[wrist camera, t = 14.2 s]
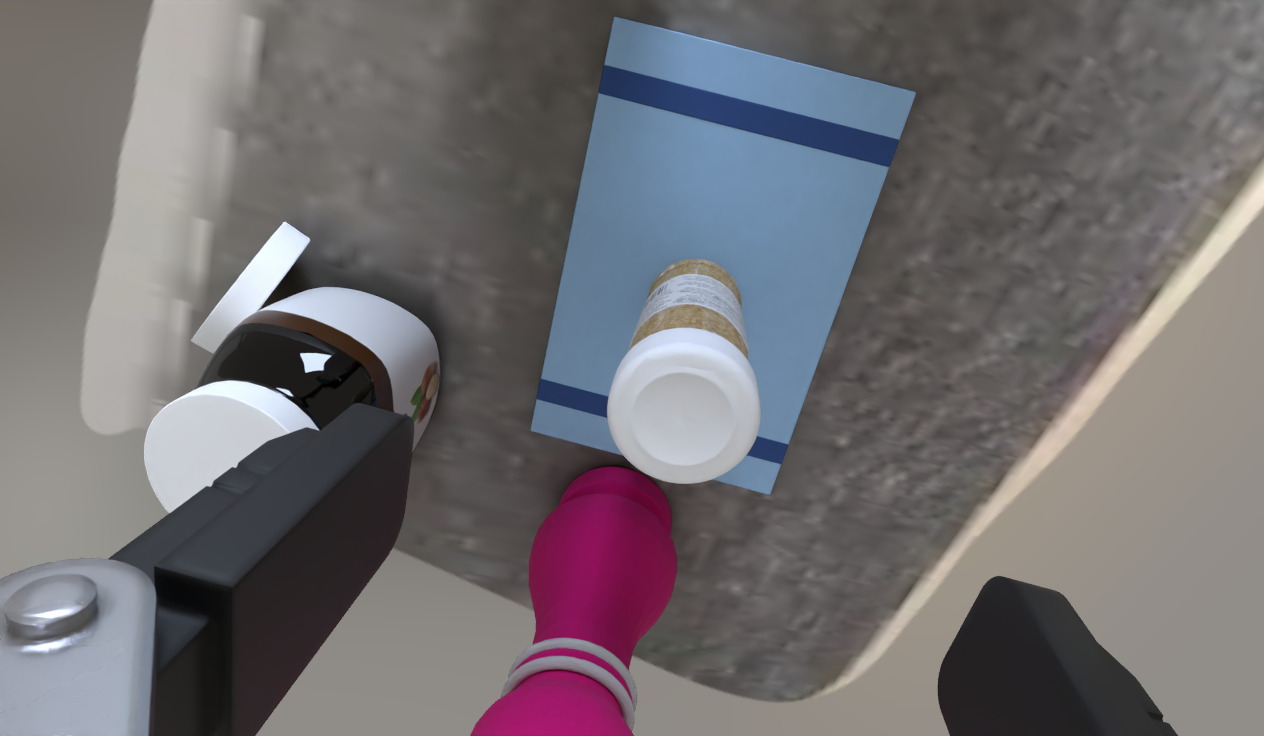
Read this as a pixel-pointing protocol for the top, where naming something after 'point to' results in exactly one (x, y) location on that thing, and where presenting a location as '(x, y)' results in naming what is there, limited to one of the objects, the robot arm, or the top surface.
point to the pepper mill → (589, 609)
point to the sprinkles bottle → (687, 379)
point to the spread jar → (287, 371)
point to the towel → (716, 217)
